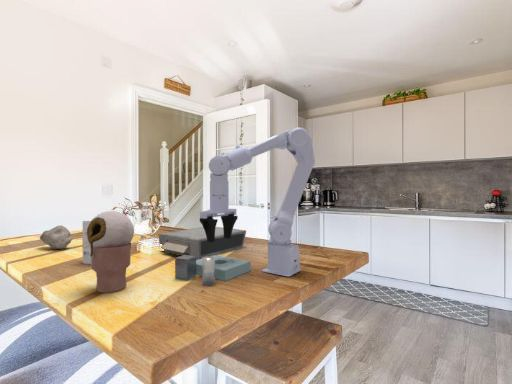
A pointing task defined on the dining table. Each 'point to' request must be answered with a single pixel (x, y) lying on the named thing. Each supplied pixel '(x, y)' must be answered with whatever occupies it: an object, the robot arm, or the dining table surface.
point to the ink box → (86, 244)
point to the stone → (57, 237)
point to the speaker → (201, 242)
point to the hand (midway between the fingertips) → (219, 239)
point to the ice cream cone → (110, 249)
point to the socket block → (226, 267)
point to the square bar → (185, 267)
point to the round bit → (208, 270)
